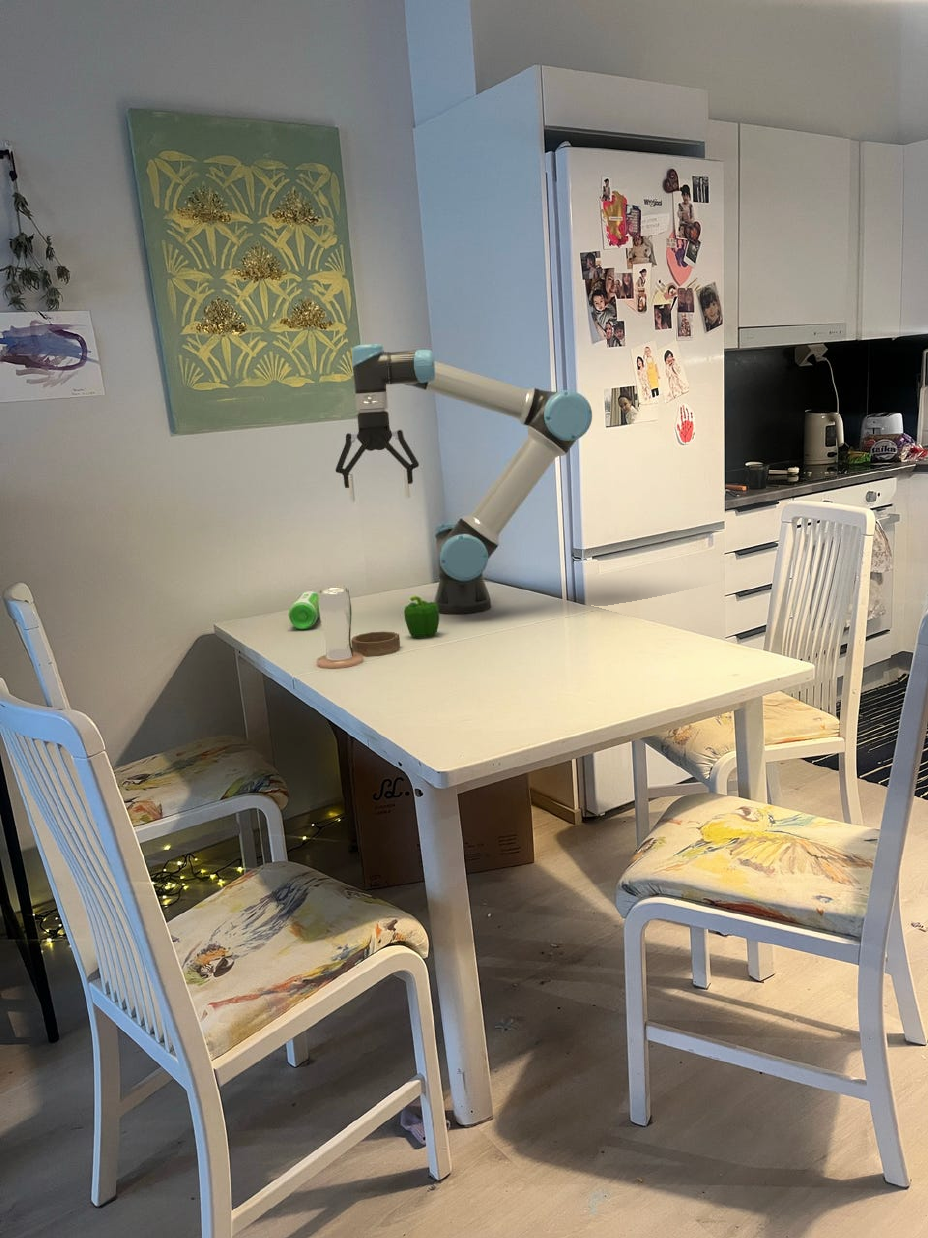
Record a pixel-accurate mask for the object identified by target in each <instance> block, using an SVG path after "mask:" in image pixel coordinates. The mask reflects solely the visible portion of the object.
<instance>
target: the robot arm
mask: <svg viewBox="0 0 928 1238" xmlns="http://www.w3.org/2000/svg"><path fill="white" fill-rule="evenodd" d="M351 353H352V354H351V355H352V357H351V358H352V373H353V383H354V384H353V385H354V392H355V403H356V410H357V411H359V413H357V427H358V432H357V434H356V433H350V432H349V433H348V432H347V433H346V434H345V444H344V447H343V449H342V452H341V454H340V457H339V460H338V462H337V465H336V468H335V472H336V473H339V474H341V475H343V482H344V485H343V486H344V488H345V489H349V501H350V503H353V502H355V500H356V497H355V487H354V477H353V473H350V472H351V471H352V470H353V468H354V467H355V465H356V464H357V462H358V461H359V459H360V458H361V457H362V455H363V454H364V452H365V451H369V452H372V451H375V450H377V451H382V450H383V451H384V450H385V449H386V450H387V451H388V452H389V453H390V454H391V455H392V456H393V457H394V458H395V459H396V460H397V461H398V463H400V464H401V466H403V467H404V469H406V470H403V479H404V492H405V494H404V495H405V499H409V498H410V496H411V495H410V485H411V484H413V482H414V479H413V477H414V476H413V470H414V469H416V468H419V466H420V463H419V461H418V459H417V458H416V456H415V454H414V453H413V451H412V449H411V448H410V446H409V444H408V441H406V439H405V436H404V431H403V430H402V429H398V430H395V431H391V429H390V417H389V415H390V414H389V412H388V411H387V410H388V408H389V406H388V403H389V402H388V394H387V393H388V391H387V385H389V386H391V385H405V386H411V387H414V388H418V389H421V390H425V391H427V392H428V391H429V392H431V393H434V394H438V395H442V396H444V397H447V398H451V399H454V400H456V401H460V402H464V403H467V404H470V405H473V406H477V407H480V408H483V409H486V410H489V411H491V412H495V413H499V414H502V415H506V416H508V417H512V418H515V419H518V420H519V422H520V424H521V425H524V426H527V433H528V434H527V437H526V439H525V440H524V442H522V444H521V445H520V447H519V448H518V450H517V451H516V453H515V454H514V455H513V456H512V458H511V459H510V460H509V461H508V463H507V465H506V466H505V467H504V469H503V470H502V472H501V473H500V474H499V475H498V477H497V479H496V480H495V481H494V482H493V483H492V485H491V487H490V488H489V489H488V491H487V492H486V493H485V494H484V496H483V498H482V499H481V500H480V502H478V504H477V506H476V507H475V508H474V510H472V513H471V514H470V515H466V516H465V515H464V516H461V517H460V519H459V520H458V521H457V522H451V523H440V524H437V525H436V527H435V535H434V537H435V540H436V555H437V568H438V586H437V590H436V594H435V598H434V602H435V603H437V605H438V607H439V614H440V613H441V614H445V615H446V614H449V615H450V614H451V615H457V614H458V615H460V614H463V615H464V614H472V613H479V612H483V611H486V610H488V609H490V608H491V607H492V601H491V596H490V593H489V591H488V588H487V585H486V583H485V580H484V576H483V572H484V571H485V570H486V568H487V566H488V562H489V559H490V557H491V556H492V555H493V554H494V553H495V551H496V549H498V547H499V546H500V541H499V536H500V534H501V532H502V531H503V529H504V528H505V527H506V526H507V525H508V523H509V522H510V520H511V519H512V518H513V516H514V515H515V514H516V512H517V511H518V509H519V508H520V507H521V506H522V504H523V503H524V502H525V500H526V498H528V496H529V495H530V494H531V492H532V490H533V489H534V488H535V486H537V484H538V482H539V481H540V480H541V478H542V477H543V476H544V474H545V473H546V472H547V470H548V469H549V468H550V466H551V465H552V464H553V462H554V460H555V459H556V458H558V457H561V456H566V455H567V453H568V452H569V451H570V449H572V447H573V445H574V444H575V443H576V441H577V440H579V439H580V438H582V437H583V436H585V434H586V433H587V432H588V430H589V429H590V427H591V426H592V421H593V410H592V407H591V405H590V402H589V401H588V400H587V398H585V396H583V395H582V394H581V393H579V392H577V391H574V390H572V389H562V390H559V391H549V390H543V389H539V388H536V387H531V388H529V389H525V388H522V387H520V386H516V385H513V384H510V383H507V382H503V381H500V380H496V379H493V378H490V377H487V376H483V375H480V374H477V373H474V372H470V371H467V370H465V369H462V368H458V367H454V366H451V365H448V364H445V363H442V362H438V361H435V355H434V352H433V351H432V350H430V349H417V350H403V351H402V350H401V351H394V352H393V351H392V352H389V351H388V352H386V351H385V350H384V347H383V345H382V344H379V343H373V344H371V343H370V344H359V345H355V346H354V347H353V348H352V351H351ZM392 437H393V438H395V440H398V442H399V444H400V445H401V446H402V448H403V450H404V452H405V453H406V455H407V457H408V459H409V461H410V462H411V463H409V462H408V460H406V459H405V457H404V456H402V455H401V453H399V451H398V450H396V448H394V446H393V445H392V444H391V443H390V441H391V439H392ZM356 439H357V440H358V441H359V443H360V444H361V445H360V446H359V448H358V450H357V451H356V452H355V454H354V455H353V456H352V457H351V459H350V461H349V462H348V464H347V465H346V466H345V468H344V465H345V463H346V460H347V459H348V455H349V452H350V450H351V448H352V444H353V443H355V442H356Z"/></svg>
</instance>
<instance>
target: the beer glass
mask: <svg viewBox="0 0 928 1238" xmlns="http://www.w3.org/2000/svg"><path fill="white" fill-rule="evenodd" d="M317 593H318V602H319V620H320V623H321V627H322V631H323V635H324V638H325V643H326V644H325V645H326V650H325V655H326V660H328V661H344V660H349V659H351V658H353V657H354V654H353V650H352V643H351V640H352V639H351V632H352V622H353V621H352V619H353V617H352V615H353V614H352V613H353V612H352V611H353V610H352V603H351V597H350V591H349V588H348V587H331V588H324V589H320V590H319V591H317Z"/></svg>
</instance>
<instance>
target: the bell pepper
mask: <svg viewBox="0 0 928 1238" xmlns="http://www.w3.org/2000/svg"><path fill="white" fill-rule="evenodd" d="M409 599H410V601H411V602H410V603H408V605H406V606H405V608H404V620H405V624H406V627H407V630H408V633H409V635H410V637H412V638H415V639H421V638H425V637H426V638H428V637H429V638H430V637H434V636H436V635H437V632H438V628H439V623H440V613H439V607H438V605H437V603H435V602H432V601H430V602H427V601H425V600H422V599H421V597H419V595H418V596H417V595H414V596H413V595H412V596H411V597H410V598H409ZM414 601H416V602H414Z"/></svg>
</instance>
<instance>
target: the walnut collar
mask: <svg viewBox="0 0 928 1238" xmlns="http://www.w3.org/2000/svg"><path fill="white" fill-rule="evenodd" d="M350 640H351V647H352V650H353V652H356V653H360V654H362V655H363V657H380V656H385V655H391V654H393V653H396V652H398V651H400V649H401V641H400V633H397V632H394V631H371V632H366V633H360V634H358V635H357V634H356V635H355V636H353V637H352V638H351V639H350Z"/></svg>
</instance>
